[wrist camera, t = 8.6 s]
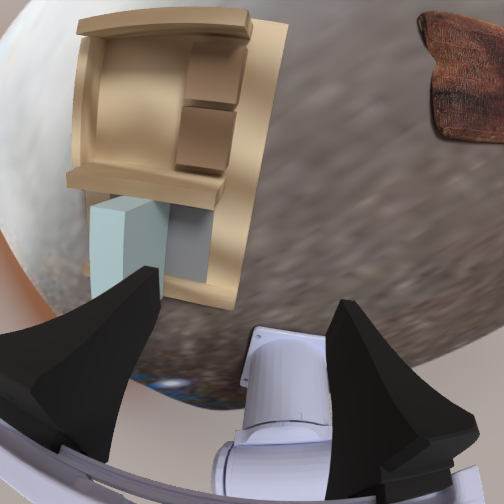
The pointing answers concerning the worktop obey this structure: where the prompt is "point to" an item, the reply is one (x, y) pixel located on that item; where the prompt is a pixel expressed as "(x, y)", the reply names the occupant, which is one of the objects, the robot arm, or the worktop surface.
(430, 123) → the worktop surface
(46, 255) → the worktop surface
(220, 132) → the offcut
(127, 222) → the panel
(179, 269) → the felt pad
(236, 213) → the rack
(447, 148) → the worktop surface
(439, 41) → the wooden tablet
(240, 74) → the offcut
